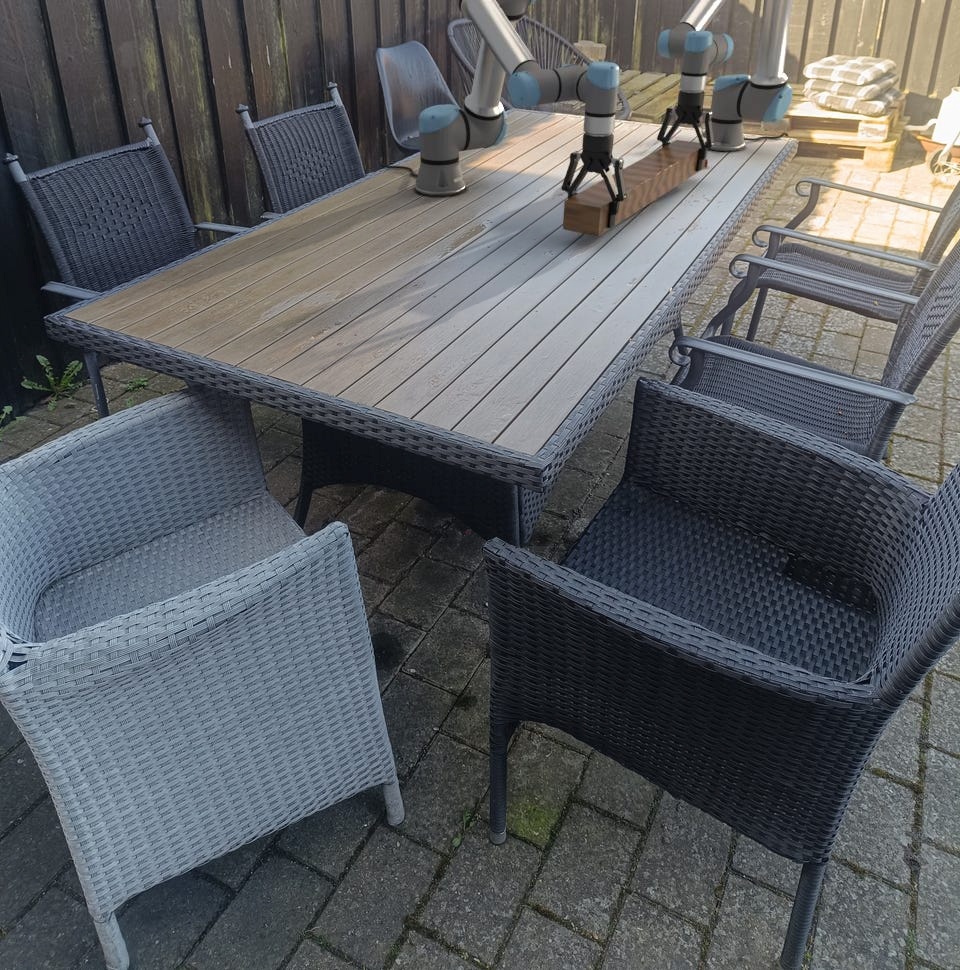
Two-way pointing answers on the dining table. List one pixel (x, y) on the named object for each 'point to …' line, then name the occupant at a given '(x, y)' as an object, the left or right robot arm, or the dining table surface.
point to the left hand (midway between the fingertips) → (591, 222)
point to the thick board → (632, 188)
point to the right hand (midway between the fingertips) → (681, 167)
